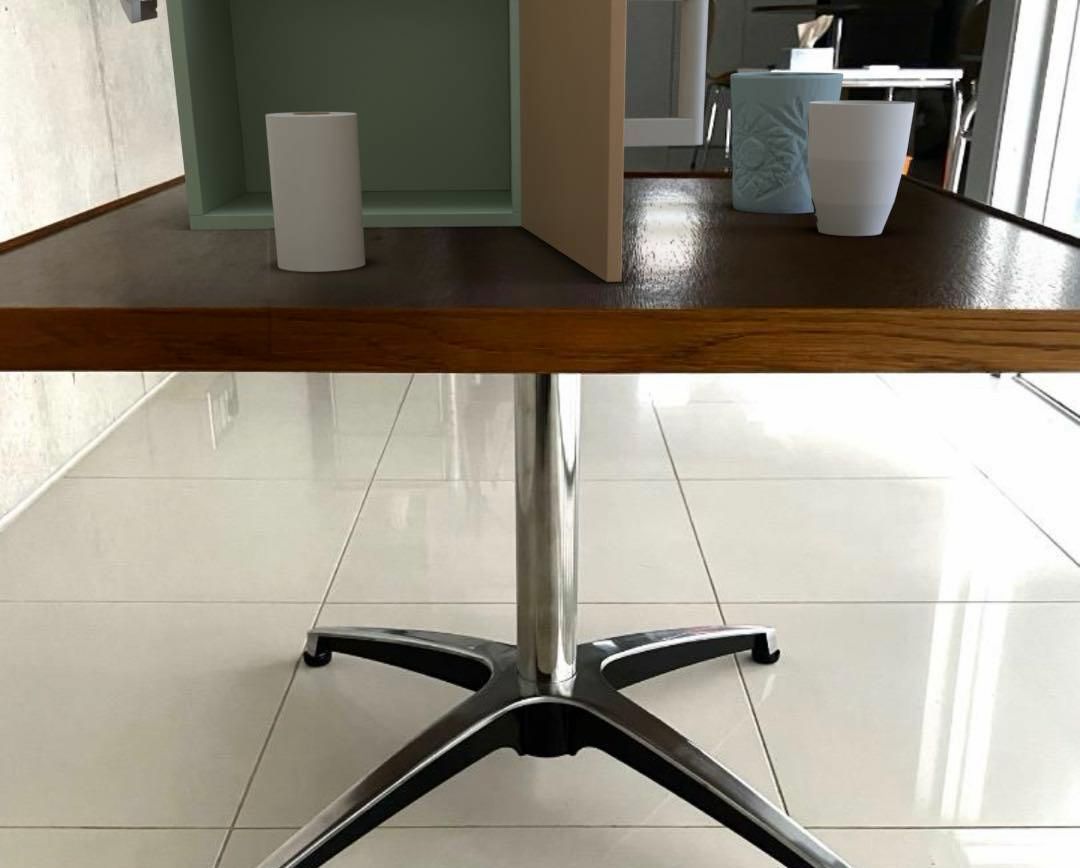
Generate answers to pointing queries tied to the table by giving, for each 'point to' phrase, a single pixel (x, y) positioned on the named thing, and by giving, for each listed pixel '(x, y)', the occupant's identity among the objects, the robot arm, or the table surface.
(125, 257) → the table surface
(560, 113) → the cupboard door
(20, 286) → the table surface
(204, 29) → the cupboard
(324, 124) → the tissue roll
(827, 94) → the embossed blue planter
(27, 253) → the table surface
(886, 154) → the cup
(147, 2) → the robot arm
